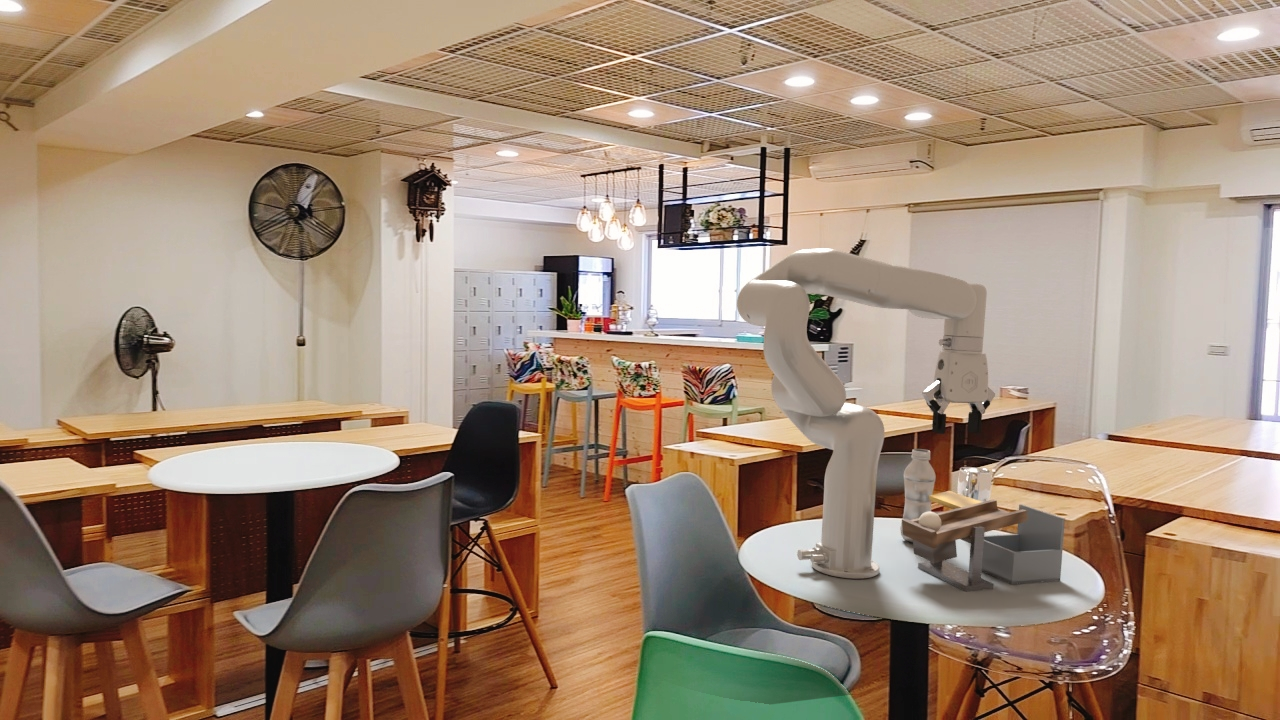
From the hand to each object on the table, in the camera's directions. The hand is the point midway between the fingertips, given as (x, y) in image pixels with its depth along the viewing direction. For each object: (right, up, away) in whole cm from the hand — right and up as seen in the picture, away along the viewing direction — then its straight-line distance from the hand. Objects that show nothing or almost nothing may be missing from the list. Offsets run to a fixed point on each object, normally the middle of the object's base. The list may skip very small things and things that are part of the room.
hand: (956, 432), depth 175 cm
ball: (-10, -16, -14) cm, 23 cm away
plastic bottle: (-4, -25, +14) cm, 29 cm away
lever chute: (-3, -20, -6) cm, 21 cm away
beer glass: (+11, -25, +20) cm, 34 cm away
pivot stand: (-4, -27, -11) cm, 29 cm away
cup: (+9, -27, -6) cm, 29 cm away
